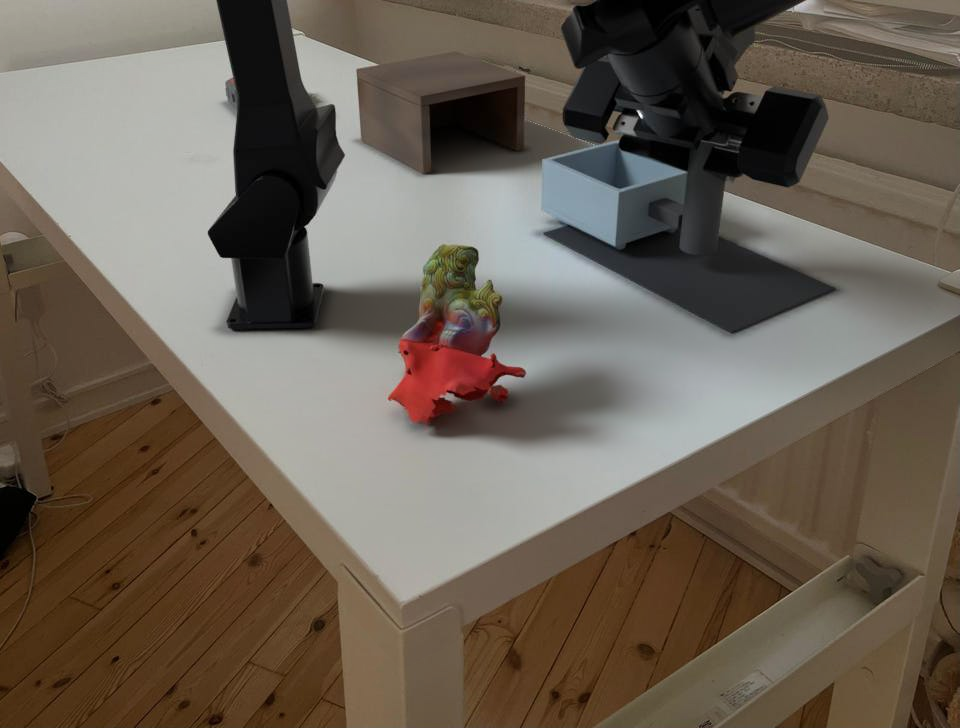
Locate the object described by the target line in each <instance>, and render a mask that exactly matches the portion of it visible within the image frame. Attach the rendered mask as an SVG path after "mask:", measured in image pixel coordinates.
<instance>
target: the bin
mask: <svg viewBox="0 0 960 728" xmlns="http://www.w3.org/2000/svg"><path fill="white" fill-rule="evenodd" d="M619 141H620V139H616V140H612V141H609V142H603V143H602V144H596V145H592V146H589V147H585V148H580V149H577V150H573V151H569V152H565V153H562V154H558V155H553V156H550V157H546V158H542V161H541V162H542V164H541V202H540V203H541V204H540V211H542V212H544V213H546V214H548V215H550V216H553V217H554V218H555V219H556V220H557V221H560V222H561V223H563V224H565V225H566V226H567V225H569V226H571V227H573V228H575V229H577V230H579V231H581V232H583V233H585V234H587V235H589V236H591V237H593V238H595V239H597V240H600V241H602V242H604V243H606V244H608V245H610V246H612V247H614V248H616V249H618V250H622V249H624V248H625V246H626V243H628V242H631V241H634V240H637V239H640V238H643V237H646V236H649V235H652V234H655V233H658V232H661V231H666V232H668V233H673V232H674V231H675V230H676V229H679V228H681V236H680V245H679V247H680V249H681V250H682V251H683V252H685V253H688V254H691V255H698V256H704V255H710V254H713V253H714V252H715V251H716V250H717V243H718V236H719V234H720V225H721V218H722V211H723V204H724V195H725V190H726V189H725V188H726V181H724V180H722V179H720V178H718V177H716V176H714V175H712V174H710V173H708V172H706V171H704V170H703V167H704V164H705V162H706V160H707V158H708V156H709V154H710V152H711V150H712V148H713V145H711V144H707V143H702V142H701V143H700V145H699V147H698V149H697V150H695V149H690V152H689V161H688V171H687V172H685V171H682V170H679V169H677V168H674V167H671V166H668V165H665V164H661V163H658V162H655V161H652V160H649V159H646V158H643V157H640V156H637V155H634V154H631V153H627V152H623V151H622V150H620V148H619V146H618V144H619Z"/></svg>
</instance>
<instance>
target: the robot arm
mask: <svg viewBox="0 0 960 728" xmlns="http://www.w3.org/2000/svg"><path fill="white" fill-rule="evenodd" d="M215 1H216V5H217V10H218V15H219V19H220V25H221V28H222V32H223V37H224V43H225V46H226V51H227V56H228V61H229V64H230V69H231V74H232V78H233V79H234V83H235V88H236V92H237V99H238V109H236V111H237V112H236V119H235V128H234V129H235V130H234V138H233V139H234V140H233V149H232V153H233V155H232V156H233V173H234V191H235V192H234V193H235V195H234V196H233V198H232V199H231V200H230V202H229V203H228V205H226V207H225V208H224V209H223V211H221V213H220V214H219V216H218V217H217V218H216V220H215V221H214V222H213V224H212V225H211V226H210V228H209V229H208V230H207V236H208V238H209V240H210V241H211V243H212V245H213V246H214V249H215V250H216V253H217V254H218V256H219V258H222V259H230V261H231V266H232V273H233V280H234V286H235V292H236V293H235V294H236V296H235V297H236V298H235V299H234V302H233V305H232V307H231V309H230V312H229V314H228V316H227V318H226V327H227V328H228V329H231V330H241V329H242V330H245V329H246V330H247V329H250V330H251V329H252V330H253V329H303V328H305V329H306V328H307V329H308V328H309V329H310V328H313V327H315V326H316V325H317V320H318V315H319V313H320V307H321V303H322V300H323V296H324V292H325V287H324V284H323V283H320V282H313V274H312V264H311V256H310V245H309V235H308V230H307V228H306V226H308V225H309V224H310V223H311V222H312V221H313V219H314V218H315V216H316V215H317V213H318V212H319V210H320V208H321V207H322V204H323V202H324V201H325V199H326V198H327V195H328V194H329V192H330V191H331V188H332V187H333V185H334V182H335V181H336V177H337V175H338V169H339V167H340V165H341V164H342V162H343V160H344V159H345V156H346V154H345V152H344V150H343V148H342V147H341V145H340V142H339V139H338V136H337V112H336V106H335V104H334V103H330V104H326V105H323V106H318V107H317V106H316V105H315V103H314V101H313V100H312V98H311V96H310V95H309V92H308V91H307V89H306V87H305V85H304V83H303V80H302V77H301V69H300V64H299V59H298V54H297V49H296V44H295V37H294V33H293V28H292V22H291V16H290V11H289V10H290V9H289V5H288V0H215ZM806 1H807V0H593V1H592V2H590V3H589V4H585V5H582V4H581V5H580V4H576V5H574V6H573V8H572V12H571V14H569V15H568V16H567V17H566V18H565V19H564V21H563V23H562V24H561V26H560V32H561V35H562V37H563V40H564V43H565V45H566V48H567V51H568V54H569V57H570V59H571V61H572V64H573V67H574V68H575V69H577V70H580V73H579V75H578V77H577V79H576V81H575V82H574V85H573V87H572V89H571V91H570V93H569V95H568V97H567V99H566V101H565V104H564V105H563V107H562V123H563V125H564V127H565V128H566V130H567V132H568V133H569V134H570V135H571V137H572V138H573V139H577V140H581V141H586V142H590V143H594V144H598V145H600V144H604V143H606V141H608V138H609V135H610V132H609V131H608V130H607V128H606V127H607V125H608V123H609V121H610V119H611V117H612V115H613V114H614V112H616V113H620V114H619V115H617V117H616V119H615V121H614V123H613V126H612V130H613V132H614V133H616V134H620V139H619V140H620V141H619V144H618V146H619V148H620V150H622V151H623V152H627V153H631V154H634V155H637V156H640V157H643V158H646V159H649V160H652V161H655V162H658V163H661V164H665V165H668V166H671V167H674V168H677V169H679V170H682V171H685V172H687V171H688V161H689V152H690V149H695V150H697V149H698V147H699V145H700V143H701V142H702V143H707V144H711V145H713V148H712V150H711V152H710V154H709V156H708V158H707V160H706V162H705V164H704V167H703V170H704V171H706V172H708V173H710V174H712V175H714V176H716V177H718V178H720V179H722V180H724V181H725V182H727V183H729V184H734V182H735V180H736V179H737V178H741V177H742V176H743V175H745V176H746V177H748V178H749V179H751V180H753V181H758V182H762V183H765V184H770V185H774V186H779V187H784V188H788V189H789V188H791V187H793V186H795V185H797V184H799V183H800V182H801V180H802V178H803V176H804V174H805V171H806V169H807V167H808V165H809V162H810V160H811V158H812V156H813V154H814V152H815V150H816V147H817V145H818V143H819V140H820V138H821V137H822V134H823V132H824V130H825V127H826V125H827V123H828V121H829V119H830V116H829V112H828V108H827V106H826V105H827V104H826V103H825V100H824V99H823V97H822V95H821V94H818V93H812V92H806V91H801V90H795V89H790V88H784V87H778V86H772V87H770V88H768V89H766V90H765V91H764V94H763V95H758V94H753V93H748V92H742V91H735V92H732V91H733V90H734V87H735V85H736V83H737V81H738V80H739V74H738V72H737V69H736V66H735V65H736V64H737V62H739V61H740V59H741V58H742V56H743V55H744V54H745V52H746V51H747V49H749V47H750V46H752V45H753V44H754V43H755V41H756V38H757V37H756V27H757V26H759V25H761V24H763V23H765V22H768V21H769V20H771V19H773V18H775V17H777V16H778V15H780V14H782V13H784V12H786V11H789V10H790V9H792V8H795V7H796V6H798V5H800V4H802V3H804V2H806ZM725 92H732V93H730V94H729V95H728V96H727V97H724V94H725Z"/></svg>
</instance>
